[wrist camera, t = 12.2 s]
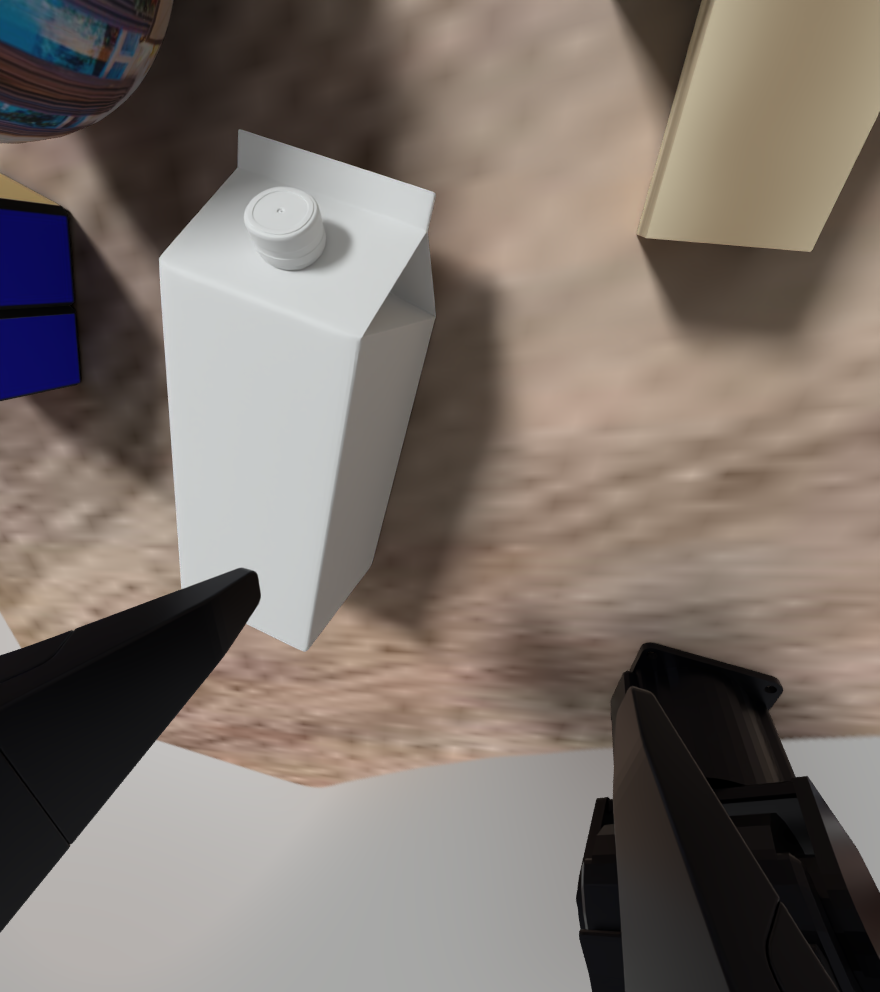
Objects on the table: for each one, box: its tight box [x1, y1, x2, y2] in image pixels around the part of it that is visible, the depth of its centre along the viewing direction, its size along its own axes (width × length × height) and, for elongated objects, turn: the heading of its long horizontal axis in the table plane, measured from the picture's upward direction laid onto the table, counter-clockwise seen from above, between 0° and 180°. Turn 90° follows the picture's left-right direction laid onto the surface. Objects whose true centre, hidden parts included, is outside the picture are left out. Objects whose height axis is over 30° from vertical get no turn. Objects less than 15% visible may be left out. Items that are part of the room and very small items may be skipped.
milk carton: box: [159, 129, 436, 652], centre depth 18 cm, size 7×7×19 cm
